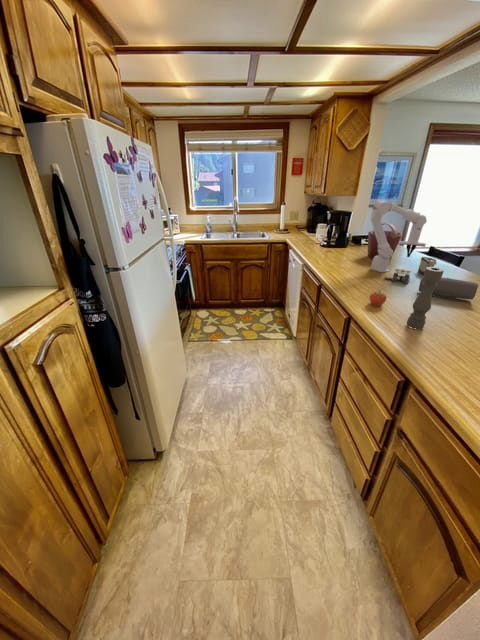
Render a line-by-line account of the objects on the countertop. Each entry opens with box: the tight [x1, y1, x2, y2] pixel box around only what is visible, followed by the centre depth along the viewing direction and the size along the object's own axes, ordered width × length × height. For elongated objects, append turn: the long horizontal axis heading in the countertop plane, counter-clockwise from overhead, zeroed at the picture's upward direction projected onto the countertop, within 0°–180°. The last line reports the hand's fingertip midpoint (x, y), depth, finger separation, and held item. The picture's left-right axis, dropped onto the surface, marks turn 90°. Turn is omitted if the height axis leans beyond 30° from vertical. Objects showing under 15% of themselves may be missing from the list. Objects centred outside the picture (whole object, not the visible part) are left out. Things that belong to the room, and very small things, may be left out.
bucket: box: [367, 222, 403, 260], centre depth 198 cm, size 24×22×25 cm
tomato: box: [369, 289, 387, 307], centre depth 128 cm, size 7×7×8 cm
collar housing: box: [391, 268, 412, 285], centre depth 157 cm, size 8×9×6 cm
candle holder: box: [406, 266, 445, 330], centre depth 105 cm, size 6×6×25 cm
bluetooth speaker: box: [418, 276, 479, 301], centre depth 135 cm, size 23×9×10 cm, turn 59°
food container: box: [417, 256, 437, 277], centre depth 166 cm, size 12×6×10 cm, turn 168°
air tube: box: [384, 273, 411, 283], centre depth 159 cm, size 13×3×3 cm, turn 57°
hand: (408, 256), depth 171 cm, fingers closed
